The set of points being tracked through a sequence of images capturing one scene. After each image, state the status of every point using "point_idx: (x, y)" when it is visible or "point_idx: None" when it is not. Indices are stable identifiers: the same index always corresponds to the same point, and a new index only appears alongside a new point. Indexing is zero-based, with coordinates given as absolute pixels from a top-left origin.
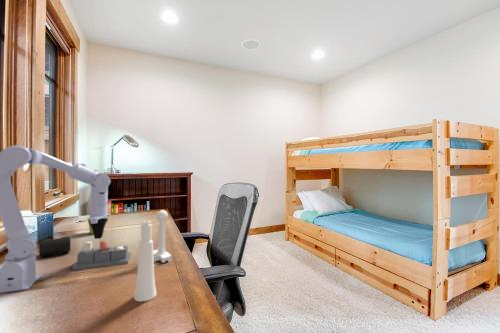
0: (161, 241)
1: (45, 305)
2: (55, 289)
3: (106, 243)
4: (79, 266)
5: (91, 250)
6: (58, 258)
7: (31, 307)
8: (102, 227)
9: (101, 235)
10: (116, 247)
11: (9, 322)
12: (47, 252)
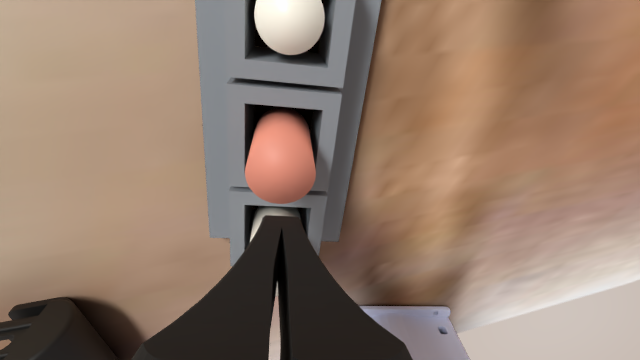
0: None
1: (607, 233)
2: (504, 238)
3: (306, 145)
4: (342, 216)
5: (283, 215)
6: (150, 310)
7: (587, 260)
8: (348, 298)
9: (303, 230)
10: (276, 48)
11: (632, 276)
12: None
